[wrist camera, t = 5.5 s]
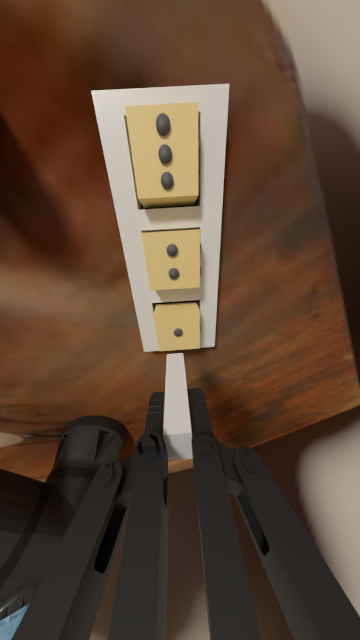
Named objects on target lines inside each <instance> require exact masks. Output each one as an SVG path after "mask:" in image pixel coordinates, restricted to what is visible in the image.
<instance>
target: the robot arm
mask: <svg viewBox="0 0 360 640" xmlns="http://www.w3.org/2000/svg"><path fill="white" fill-rule="evenodd" d="M148 407H149V408H148V414H147V420H146V426H145V433H144V434H143V435H141V436H140V438H139V439H138V440H137V443H136V446H135V448H136V452H135V453H134V454H133V455H131V456H129V457H127V458H125V459H123V460H121V461H120V462H119V461H117V460H118V458H119V456H120V455H121V453H122V451H123V449H124V446H125V443H126V439H127V431H126V429H125V428H124V427H123V426H122V425H121V424H120V423H118V422H116V421H114V420H112V419H109V418H106V417H100V416H85V417H80V418H77V419H75V420H73V421H71V422H70V423H69V425H68V426H67V428H66V429H65V431H64V433H63V435H62V437H61V441H60V444H59V447H58V451H57V454H56V458H55V461H54V465H53V468H52V470H51V472H50V474H49V476H48V478H47V479H46V481H45V482H41V481H38V480H35V479H32V478H29V477H26V476H22V475H19V474H16V473H13V472H10V471H6V470H3V469H0V640H89V638H90V634H91V631H92V628H93V625H94V622H95V618H96V615H97V612H98V609H99V605H100V602H101V599H102V595H103V593H104V589H105V586H106V583H107V580H108V577H109V573H110V570H111V567H112V563H113V560H114V557H115V554H116V551H117V548H118V545H119V541H120V538H121V535H122V531H123V528H124V525H125V522H126V519H127V516H128V521H127V527H126V533H125V539H124V546H123V551H122V557H121V564H120V570H119V576H118V582H117V588H116V594H115V600H114V607H113V612H112V618H111V624H110V631H109V637H108V640H166V631H167V629H166V628H167V559H168V557H167V556H168V485H169V481H168V480H169V477H168V476H169V474H168V461H171V460H181V459H191V458H193V466H194V479H195V487H196V498H197V508H198V519H199V529H200V539H201V550H202V560H203V570H204V581H205V591H206V601H207V612H208V621H209V632H210V640H261V636H260V632H259V627H258V623H257V618H256V614H255V609H254V605H253V601H252V596H251V592H250V587H249V583H248V579H247V574H246V570H245V566H244V561H243V557H242V553H241V548H240V544H239V539H238V535H237V531H236V526H235V522H234V518H233V513H232V509H231V504H230V500H229V496H228V493H230V494H233V495H234V496H235V499H236V501H237V504H238V506H239V508H240V511H241V513H242V515H243V518H244V520H245V523H246V525H247V527H248V529H249V532H250V535H251V537H252V539H253V542H254V544H255V546H256V549H257V551H258V554H259V556H260V558H261V561H262V563H263V565H264V568H265V570H266V573H267V575H268V578H269V580H270V582H271V585H272V587H273V589H274V592H275V594H276V597H277V599H278V601H279V604H280V606H281V609H282V611H283V613H284V616H285V618H286V621H287V623H288V625H289V628H290V630H291V632H292V635H293V637H294V640H360V617H359V615H358V614H357V612H356V610H355V609H354V607H353V605H352V604H351V602H350V601H349V599H348V598H347V596H346V594H345V593H344V591H343V590H342V588H341V586H340V585H339V583H338V581H337V580H336V578H335V577H334V575H333V573H332V572H331V570H330V569H329V567H328V565H327V564H326V562H325V561H324V559H323V557H322V556H321V554H320V553H319V551H318V549H317V548H316V546H315V545H314V543H313V541H312V540H311V538H310V537H309V535H308V533H307V532H306V530H305V529H304V527H303V525H302V524H301V522H300V521H299V519H298V517H297V516H296V514H295V513H294V511H293V509H292V508H291V506H290V505H289V503H288V501H287V500H286V498H285V497H284V495H283V493H282V492H281V490H280V489H279V487H278V485H277V484H276V482H275V481H274V479H273V477H272V476H271V475H270V473H269V471H268V469H267V468H266V466H265V465H264V463H263V461H262V460H261V458H260V457H259V456H258V454H257V453H256V452H255V451H254V450H252V449H251V448H249V447H245V446H243V447H239V448H238V449H234V448H231V447H227V446H225V445H223V444H221V443H220V442H219V441H218V440H217V439H216V438H215V436H214V434H213V431H212V427H211V423H210V418H209V414H208V409H207V405H206V401H205V396H204V393H203V392H202V390H201V389H200V388H193V389H187V384H186V375H185V366H184V356H183V353H176V354H167V364H166V384H165V392H154V393H153V394H152V396H151V398H150V400H149V406H148ZM128 513H129V515H128Z"/></svg>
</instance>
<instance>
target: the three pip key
mask: <svg viewBox="0 0 360 640" xmlns="http://www.w3.org/2000/svg"><path fill="white" fill-rule="evenodd" d="M125 111H126V118H127V125H128V132H129V139H130V146H131V153H132V160H133V167H134V173H135V180H136V187H137V194H138V199H139V201H140V202H141V204H142V205H143V207H144V208H151V207H168V206H184V205H194V204H195V202H196V199H197V197H198V191H199V188H200V175H198V167H199V164H200V149H198V141H199V137H200V120H198V102H192V103H173V104H153V105H134V106H125Z"/></svg>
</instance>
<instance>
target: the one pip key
mask: <svg viewBox="0 0 360 640" xmlns="http://www.w3.org/2000/svg"><path fill="white" fill-rule="evenodd" d="M154 321H155V328H156V334H157V341H158V348H159V351H171V350H185V349H199V348H200V332H201V325H200V310H199V307H198V305H197V303H196V302H187V303H172V304H158V305H156V307H155V310H154Z"/></svg>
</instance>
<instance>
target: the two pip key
mask: <svg viewBox="0 0 360 640" xmlns="http://www.w3.org/2000/svg"><path fill="white" fill-rule="evenodd" d="M141 234H142V240H143V247H144V254H145V260H146V267H147V274H148V281H149V287H150V291H154V290H169V289H184V288H199V287H200V276H201V266H200V254H201V244H200V229H194V230H178V231H162V232H146V233H141Z"/></svg>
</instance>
